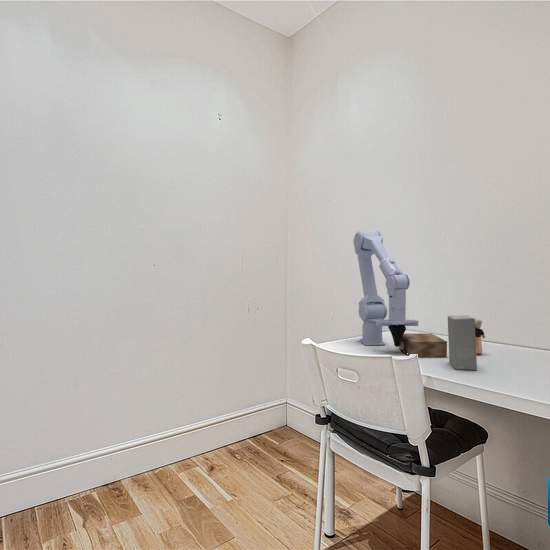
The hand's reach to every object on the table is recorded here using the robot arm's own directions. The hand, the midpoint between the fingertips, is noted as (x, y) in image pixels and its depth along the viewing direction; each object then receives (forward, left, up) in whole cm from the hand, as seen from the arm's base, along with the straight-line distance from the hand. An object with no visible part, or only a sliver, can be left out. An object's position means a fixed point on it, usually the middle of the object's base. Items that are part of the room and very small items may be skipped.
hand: (396, 346), depth 146 cm
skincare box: (+18, +15, -2) cm, 23 cm away
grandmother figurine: (+3, +27, -2) cm, 27 cm away
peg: (0, +7, -1) cm, 7 cm away
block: (0, +9, -2) cm, 9 cm away
